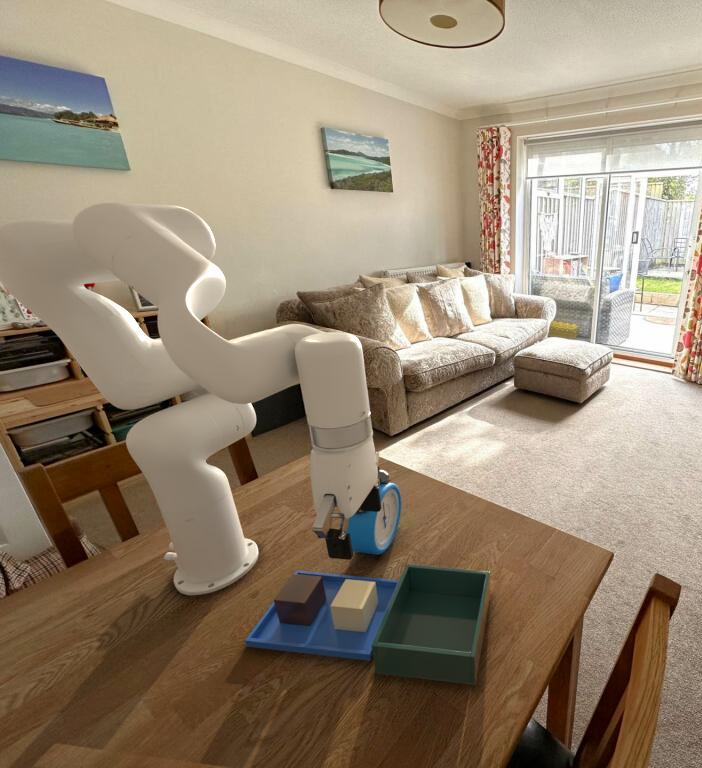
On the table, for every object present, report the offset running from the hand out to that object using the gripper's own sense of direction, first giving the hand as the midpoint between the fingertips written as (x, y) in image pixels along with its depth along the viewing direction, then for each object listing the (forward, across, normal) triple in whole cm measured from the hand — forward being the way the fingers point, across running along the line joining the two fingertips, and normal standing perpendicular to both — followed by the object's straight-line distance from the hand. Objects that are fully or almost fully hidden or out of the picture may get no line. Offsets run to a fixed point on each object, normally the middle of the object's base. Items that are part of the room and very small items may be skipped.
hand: (357, 531), depth 59 cm
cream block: (+17, +1, -2) cm, 17 cm away
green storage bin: (+17, +2, +12) cm, 21 cm away
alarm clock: (+17, -15, -5) cm, 24 cm away
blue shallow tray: (+17, +1, -6) cm, 18 cm away
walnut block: (+17, +1, -11) cm, 20 cm away
